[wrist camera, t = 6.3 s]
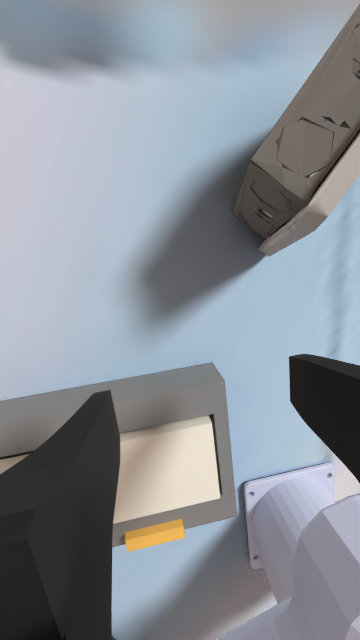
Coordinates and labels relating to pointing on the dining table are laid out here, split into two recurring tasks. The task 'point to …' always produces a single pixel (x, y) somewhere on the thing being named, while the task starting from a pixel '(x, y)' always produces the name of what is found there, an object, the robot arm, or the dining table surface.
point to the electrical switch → (308, 151)
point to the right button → (166, 468)
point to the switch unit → (136, 413)
